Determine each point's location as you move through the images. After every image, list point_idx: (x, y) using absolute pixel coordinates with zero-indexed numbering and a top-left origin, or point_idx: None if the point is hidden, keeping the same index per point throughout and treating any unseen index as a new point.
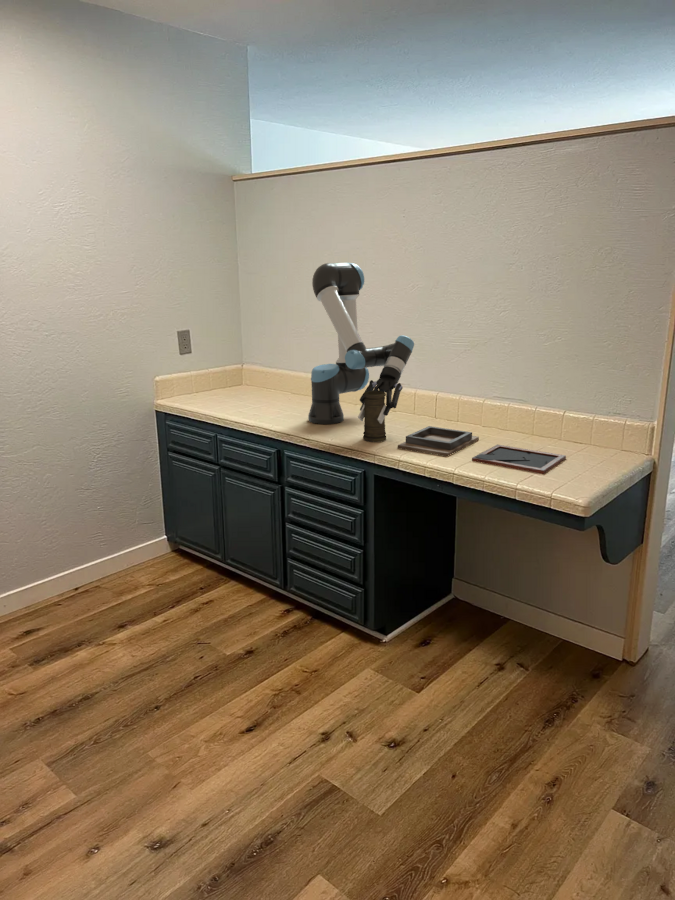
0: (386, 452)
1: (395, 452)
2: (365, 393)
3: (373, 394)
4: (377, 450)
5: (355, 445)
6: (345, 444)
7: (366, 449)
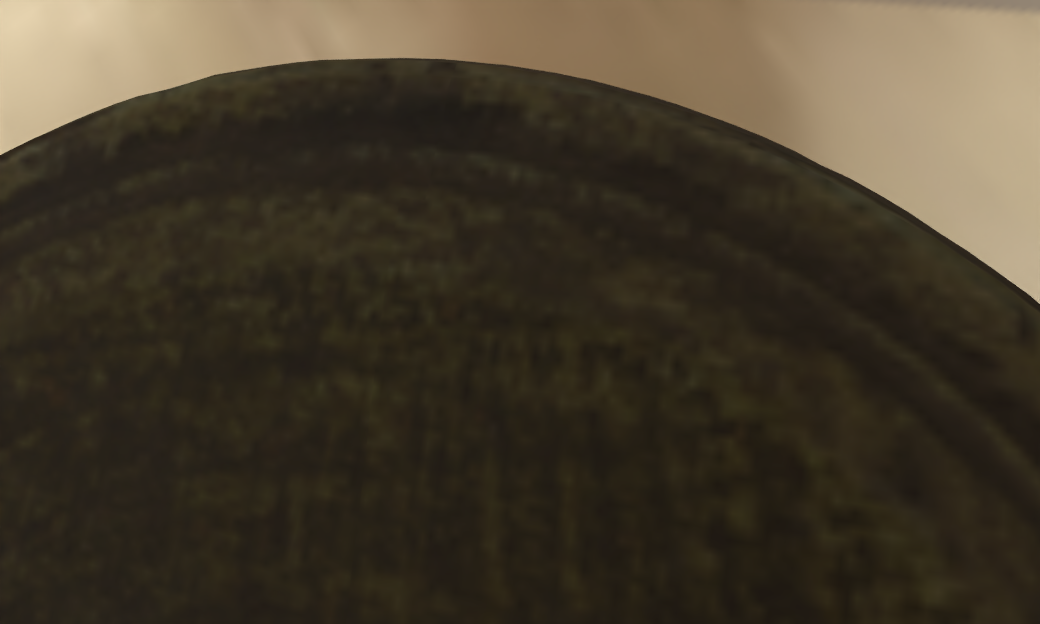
0: (164, 56)
1: None
2: (932, 435)
3: (34, 422)
4: (303, 60)
5: (715, 79)
6: (893, 30)
7: (455, 9)
